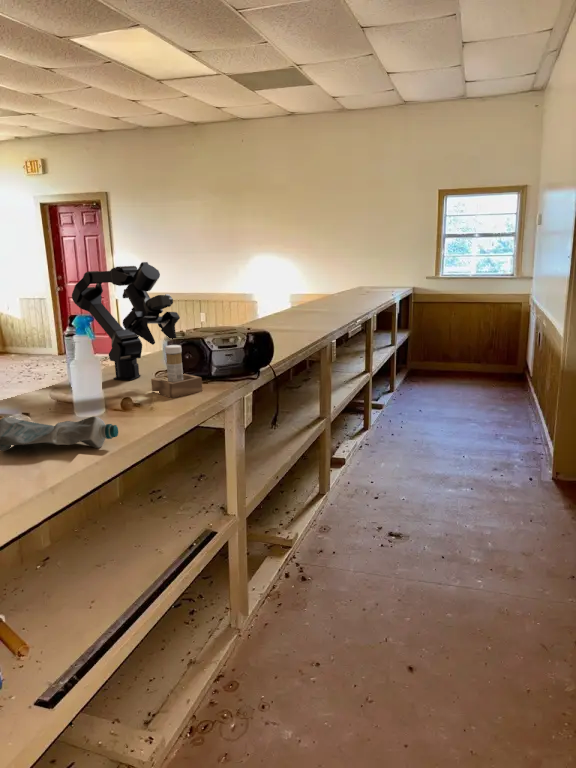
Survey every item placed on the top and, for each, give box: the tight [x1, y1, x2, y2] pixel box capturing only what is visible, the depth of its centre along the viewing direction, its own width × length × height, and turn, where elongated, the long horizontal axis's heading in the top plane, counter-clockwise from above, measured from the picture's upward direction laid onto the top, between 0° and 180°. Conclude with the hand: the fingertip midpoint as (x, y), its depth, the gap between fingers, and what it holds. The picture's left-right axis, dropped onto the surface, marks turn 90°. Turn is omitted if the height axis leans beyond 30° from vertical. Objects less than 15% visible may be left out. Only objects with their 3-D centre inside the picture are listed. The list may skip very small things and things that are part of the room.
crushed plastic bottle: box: [0, 416, 119, 452], centre depth 116 cm, size 13×7×25 cm
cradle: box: [150, 373, 203, 399], centre depth 161 cm, size 10×10×4 cm
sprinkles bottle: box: [164, 344, 184, 383], centre depth 160 cm, size 5×5×14 cm
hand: (165, 343), depth 164 cm, fingers open, 9 cm apart
